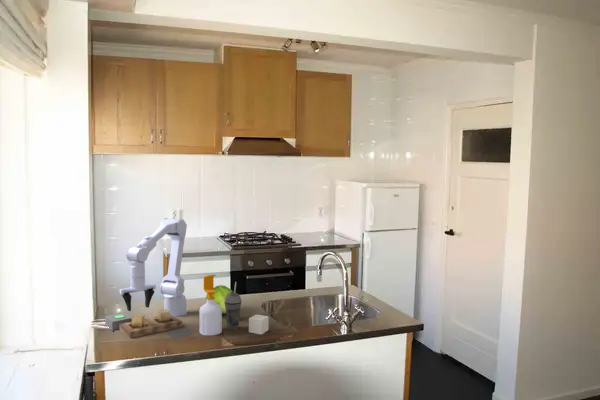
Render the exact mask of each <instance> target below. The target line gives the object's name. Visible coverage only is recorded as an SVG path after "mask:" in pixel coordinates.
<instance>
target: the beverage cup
mask: <svg viewBox="0 0 600 400" xmlns="http://www.w3.org/2000/svg"><path fill="white" fill-rule="evenodd" d="M233 288H234V290H233V292H231V293H229V294H227V296H226V297H225V301H224V303H225V307H226V313H225V316H226V325H227V327H226V328H227V329H229V330H235V331H236V330H238V329H239V325H240V313H241V307H242V302H243V301H242V298H241V295H240V294H239V293H237V292H236V291H237V290H236V289H237V281H235V282H234V287H233Z"/></svg>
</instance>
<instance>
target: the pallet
mask: <svg viewBox="0 0 600 400" xmlns="http://www.w3.org/2000/svg"><path fill="white" fill-rule="evenodd" d="M119 328H120V329H119V331H121V333H122V334H124V335H126V336H127V337H128V338H129V339H132V338H137V337H142V336H146V335H147V336H148V335H151V334H156V333H160V332H161V333H162V332H167V331H171V330H176V329H180V328H183V321H182V320H181V319H179V318H177V317H174V316H173V315H171V314H170V322H165V323H160V324H159V323H158V322H157V316H154V317H149V318H148V317H147V318H145V327H141V328H136V329H133V328H132V322H127V323H122V324H119Z"/></svg>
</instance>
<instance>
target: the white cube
mask: <svg viewBox="0 0 600 400" xmlns="http://www.w3.org/2000/svg"><path fill="white" fill-rule="evenodd" d="M268 331H269V316H267V315H263V314H257V313H256V314H254V315H252V316H251V317H249V318H248V333H251V334H257V335H264V334H265V333H266V332H268Z"/></svg>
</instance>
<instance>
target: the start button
mask: <svg viewBox="0 0 600 400" xmlns="http://www.w3.org/2000/svg"><path fill="white" fill-rule="evenodd" d="M114 318H115V319H120V318H125V316H123V315H117V316H114Z"/></svg>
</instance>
